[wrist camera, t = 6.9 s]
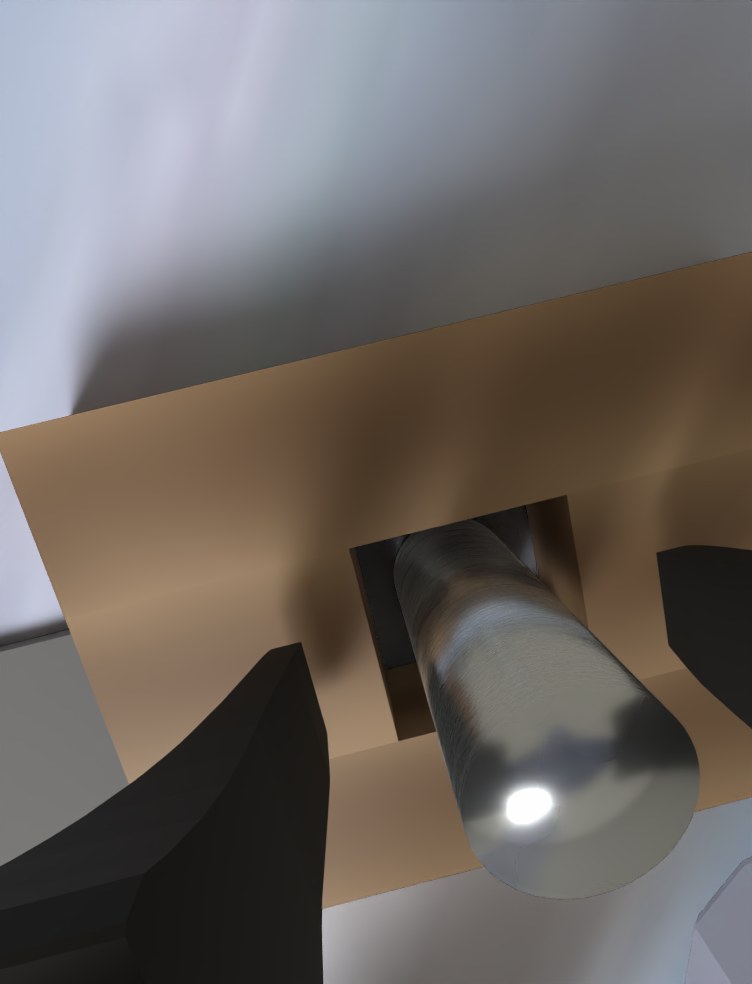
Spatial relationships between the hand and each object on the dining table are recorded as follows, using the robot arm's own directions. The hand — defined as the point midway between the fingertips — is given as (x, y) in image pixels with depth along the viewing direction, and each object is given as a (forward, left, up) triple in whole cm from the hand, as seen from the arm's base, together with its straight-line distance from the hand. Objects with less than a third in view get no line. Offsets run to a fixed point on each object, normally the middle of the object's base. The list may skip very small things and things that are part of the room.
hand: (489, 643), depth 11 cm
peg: (0, 0, -4) cm, 4 cm away
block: (0, 0, -4) cm, 4 cm away
